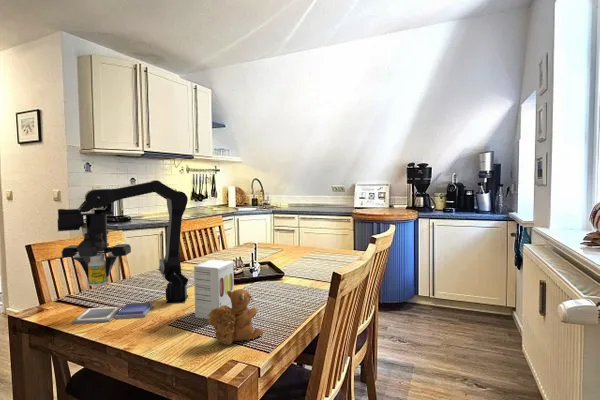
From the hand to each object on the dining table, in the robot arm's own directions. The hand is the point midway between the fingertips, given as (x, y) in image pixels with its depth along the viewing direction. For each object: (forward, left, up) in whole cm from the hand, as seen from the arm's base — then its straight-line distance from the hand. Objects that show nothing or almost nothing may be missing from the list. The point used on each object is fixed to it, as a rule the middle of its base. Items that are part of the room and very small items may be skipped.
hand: (98, 277), depth 113 cm
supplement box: (-37, +4, -13) cm, 39 cm away
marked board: (+1, 0, -13) cm, 13 cm away
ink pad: (-10, -1, -13) cm, 17 cm away
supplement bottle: (0, 0, -3) cm, 3 cm away
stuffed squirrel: (-44, +22, -13) cm, 51 cm away
